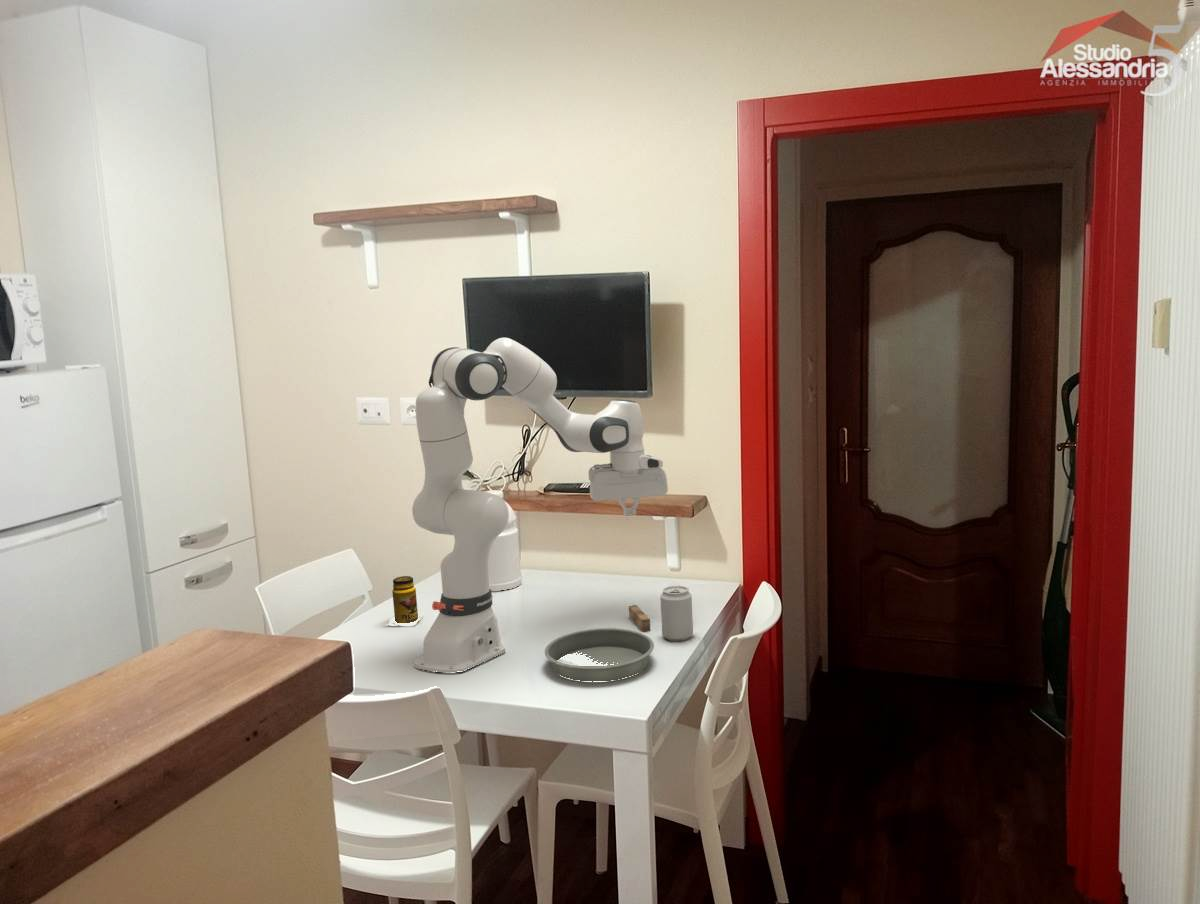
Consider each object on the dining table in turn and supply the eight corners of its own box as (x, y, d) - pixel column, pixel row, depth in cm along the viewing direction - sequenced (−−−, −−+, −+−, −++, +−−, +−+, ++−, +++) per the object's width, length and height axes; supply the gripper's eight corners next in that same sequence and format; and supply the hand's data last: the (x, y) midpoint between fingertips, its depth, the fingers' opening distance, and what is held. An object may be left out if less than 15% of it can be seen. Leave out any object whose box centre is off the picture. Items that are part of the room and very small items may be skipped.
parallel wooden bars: (629, 617, 243) (628, 605, 243) (677, 610, 246) (676, 599, 246) (642, 631, 232) (642, 620, 231) (692, 624, 235) (692, 613, 234)
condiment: (415, 626, 246) (411, 581, 244) (383, 627, 247) (379, 582, 245) (423, 617, 253) (419, 573, 251) (392, 618, 254) (388, 574, 252)
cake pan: (571, 642, 228) (570, 624, 228) (668, 650, 219) (667, 631, 219) (527, 681, 206) (525, 661, 205) (633, 692, 197) (632, 671, 196)
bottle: (508, 575, 288) (502, 485, 284) (530, 585, 277) (524, 491, 272) (466, 585, 281) (459, 492, 276) (487, 595, 269) (480, 499, 265)
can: (659, 641, 224) (657, 593, 223) (664, 631, 232) (662, 583, 230) (691, 642, 223) (689, 593, 221) (695, 631, 230) (693, 584, 228)
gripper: (591, 466, 238) (593, 520, 239) (668, 460, 242) (670, 513, 244) (585, 463, 244) (588, 516, 245) (661, 458, 248) (663, 510, 250)
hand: (629, 515), depth 244 cm, fingers closed
